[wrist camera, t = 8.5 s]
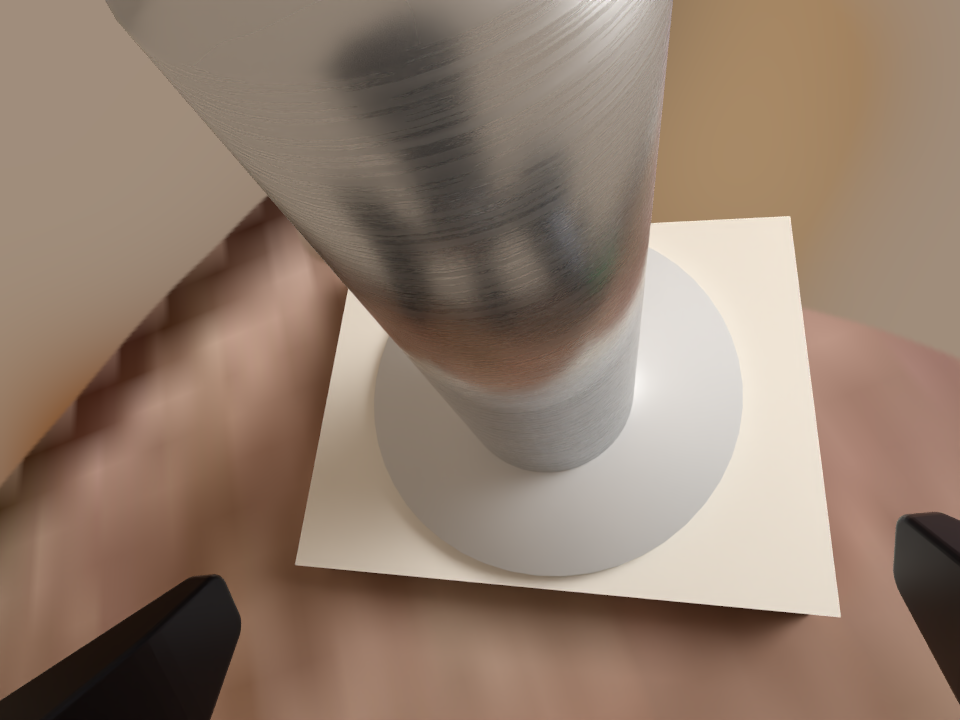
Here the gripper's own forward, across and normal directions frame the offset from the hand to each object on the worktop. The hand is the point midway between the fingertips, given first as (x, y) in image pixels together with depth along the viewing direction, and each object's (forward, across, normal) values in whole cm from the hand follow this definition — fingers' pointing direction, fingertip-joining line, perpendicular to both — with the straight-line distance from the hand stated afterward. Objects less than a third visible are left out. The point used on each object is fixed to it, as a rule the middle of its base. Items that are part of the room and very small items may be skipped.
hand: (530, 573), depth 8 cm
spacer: (+9, 0, +1) cm, 9 cm away
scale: (+11, 0, +3) cm, 11 cm away
